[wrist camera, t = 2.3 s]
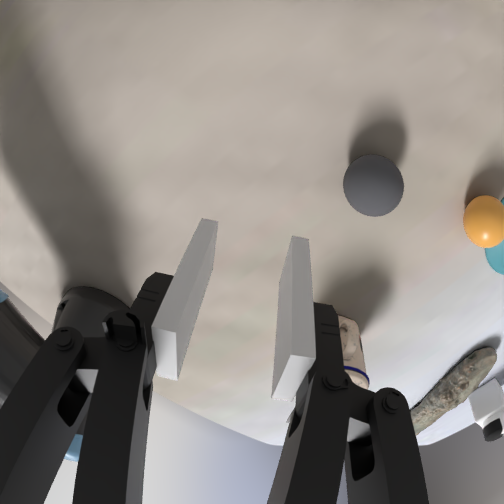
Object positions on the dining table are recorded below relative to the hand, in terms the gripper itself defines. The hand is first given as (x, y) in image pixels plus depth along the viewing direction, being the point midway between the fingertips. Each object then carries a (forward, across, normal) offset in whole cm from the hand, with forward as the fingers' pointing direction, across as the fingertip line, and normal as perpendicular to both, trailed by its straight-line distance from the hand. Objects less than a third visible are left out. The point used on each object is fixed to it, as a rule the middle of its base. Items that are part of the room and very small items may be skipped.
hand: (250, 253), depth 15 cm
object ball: (+14, +24, 0) cm, 27 cm away
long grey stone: (+17, +42, -38) cm, 59 cm away
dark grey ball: (+14, +10, 0) cm, 17 cm away
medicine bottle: (+17, +54, -35) cm, 67 cm away
